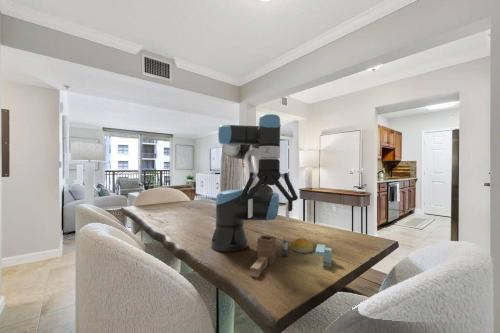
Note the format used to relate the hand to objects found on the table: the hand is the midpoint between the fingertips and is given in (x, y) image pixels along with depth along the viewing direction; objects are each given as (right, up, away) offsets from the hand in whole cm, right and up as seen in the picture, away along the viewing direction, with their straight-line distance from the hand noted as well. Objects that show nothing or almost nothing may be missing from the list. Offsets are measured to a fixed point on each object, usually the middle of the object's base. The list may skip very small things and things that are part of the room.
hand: (268, 218), depth 80 cm
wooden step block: (-3, -15, -5) cm, 16 cm away
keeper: (+19, -15, -1) cm, 24 cm away
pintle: (+7, -15, +4) cm, 17 cm away
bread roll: (+15, -16, +12) cm, 24 cm away
